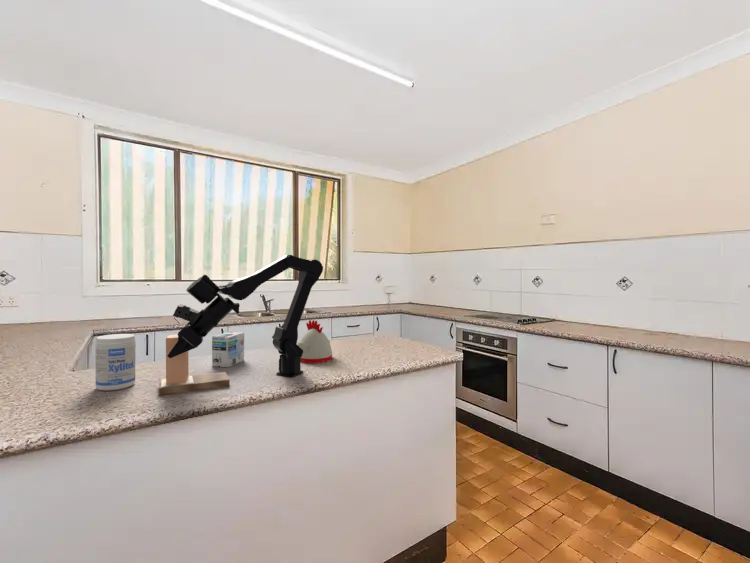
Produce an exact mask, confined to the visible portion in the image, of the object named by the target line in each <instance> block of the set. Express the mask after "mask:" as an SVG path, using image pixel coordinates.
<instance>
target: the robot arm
mask: <svg viewBox="0 0 750 563" xmlns="http://www.w3.org/2000/svg"><path fill="white" fill-rule="evenodd" d="M288 269H293V270H294V271H297V272H298V279H297V280H298V283H297V287H296V289H295V291H294V295H293V298H292V300H291V303H290V306H289V309H288V311H287V314H286V317H285V319H284V322H283V324H282V325H281V326H280V327H279V326H276V327H275V328H274V333H273V335H272V336H271V338H272V345H273V347H274V348H275V349H276V350H277V351H278V352H277V353H278V354H279V359H278V372H276V375H278V376H283V377H289V378H293V377H296V376H298V375H300V374H303V373H304V370H301V364H302V362H301V357H302V354H303V350H302V349H301V348H300V347H299V346H298V338H299V330H298V328H299V324H300V322H301V318H302V316H303V312H304V310H305V307H306V304H307V302H308V298H309V296H310V294H311V290H312V288H313V286H315V284H316V283H317V282H318V281H319V279H320V278H321V275H322V273H323V271H324V266H323V264H322V262H321V261H319V260H318V259H306V258H302V257H298V256H294V255H292V254H285V255H282V257H281V258H278V259H277V260H275V261H273V262H271V263H270V264H268V265H266V266H264V267H262V268H261V269H258V270H257V271H256V272H253V273H252V274H249V275H246V276H243V277H239V278H236V279H234V280H233V279H232V280H230V281H229V282H228V283H227V284H225V285H217V284H216V283H215V282H214V281H213V280H211V278H210V277H209V276H208V275H207V274H203V275H202V276H201V277H199V278H197V279H196V280H194V281H193V282H192V283H191V284H190V285H189V286H188V287H187V288H186V290H185V291H186V292H187V293H188V294H190V295H191V297H193V298H194V299H195V300H197V301H198V302H199V303H200V304H204V303H206V304H208V305H207V306H206V307H205V308H204V309H203V308H202V309H201V310H200V311H198V310H197V309H194V308H192V307H190V306H187V305H184V304H177V307H176V308H175V311H174V313H173V314H172V316H173V317H174V318H177V319H178V318H179V319H182V320H185V321H188V322H187V323H186V325H185V326H184V327H182V328H181V329H180V330H179V331H178V333H177V335H178V342H177V343H176V344H175V346H174V347H173V349H172V350H171V351H170V353H169V354H168V355H167V356H168V357H169V358H172V357H175V356H177V355H179V354H182V353H184V352H187V351H188V352H189V351H191V350H194V349H196V348H198V347H199V346H200V345H201V344H202V343H203V341H204V338H205V337H207V336H208V334H209V333H210V332H211V331H212V330H213V329H214V328H215V327H217V326H218V324H219V323H220V322H222V320H223V319H224V318H226V316H227V315H229V313H230V312H232V311H233V312H235V313H236V314H237V315H238V314H240V305H241V304H240V303H239V302H234V301H233V300H237V301H244V300H245V299H247V298H248V297H249V296H250V295H251V294H252V293H255V291H256V290H257V289H258V287H260V286H261V285H262V284H264V283H266V282H267V281H269V280H271V279H273V278H274V277H276V276H278V275H279V274H281V273H283V272H285V271H287V270H288ZM221 294H222V295H226V296H227V297H225V298H224V296H222V295H221ZM231 299H233V300H231Z"/></svg>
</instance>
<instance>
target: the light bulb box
mask: <svg viewBox="0 0 750 563" xmlns="http://www.w3.org/2000/svg"><path fill="white" fill-rule="evenodd" d="M244 361H245V332H238V331H237V332H236V331H227V332H224V333H220V334H216V335H213V336H211V366H212V367H218V366H220V368H231V367H233V366H235V365H236V364H237V365H238V364H240V363H242V362H244ZM239 362H240V363H239Z"/></svg>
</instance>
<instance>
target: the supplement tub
mask: <svg viewBox="0 0 750 563" xmlns="http://www.w3.org/2000/svg"><path fill="white" fill-rule="evenodd" d="M136 343H137V342H136V335H135V334H132V333H114V334H105V335H100V336H97V337H96V341H95V388H96V389H97V390H100V391H119V390H123V389H127V388H129V387H131V386H133V385H134V384H135V383H136V365H137V364H136V361H137V360H136V357H137V356H136V354H137V352H136V350H137V348H136V347H137V346H136Z"/></svg>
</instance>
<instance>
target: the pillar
mask: <svg viewBox="0 0 750 563" xmlns="http://www.w3.org/2000/svg"><path fill="white" fill-rule="evenodd" d="M177 342H178V334H168V335H167V336H166V337H165V379H166V384H176V383H186V382H187V380H188V378H189V376H190V375H189V373H190V372H189V351H187V352H184V353H182V354H179V355H177V356H175V357H172V358H169V357H168V356H167V355H168V354H169V353H170V351H171V350H172V349H173V347H174V346H175V344H176V343H177Z"/></svg>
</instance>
